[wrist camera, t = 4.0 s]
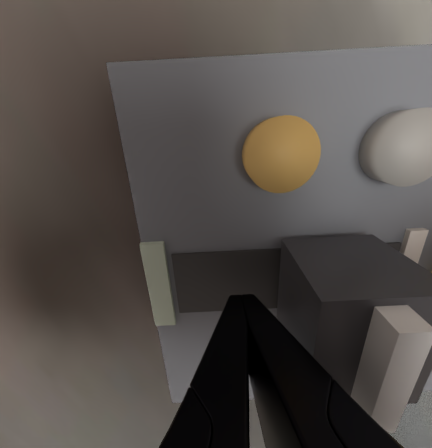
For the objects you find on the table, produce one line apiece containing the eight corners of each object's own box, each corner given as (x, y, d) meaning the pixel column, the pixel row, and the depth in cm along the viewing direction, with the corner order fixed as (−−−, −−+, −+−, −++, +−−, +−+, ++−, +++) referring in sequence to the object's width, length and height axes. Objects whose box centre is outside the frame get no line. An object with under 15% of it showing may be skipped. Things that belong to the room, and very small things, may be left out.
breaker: (353, 318, 9) (440, 435, 6) (276, 322, 9) (315, 440, 6) (372, 234, 8) (505, 320, 4) (281, 239, 8) (338, 328, 4)
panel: (536, 365, 12) (588, 402, 10) (175, 382, 12) (169, 422, 10) (763, 35, 7) (945, 4, 5) (120, 72, 7) (90, 53, 5)
